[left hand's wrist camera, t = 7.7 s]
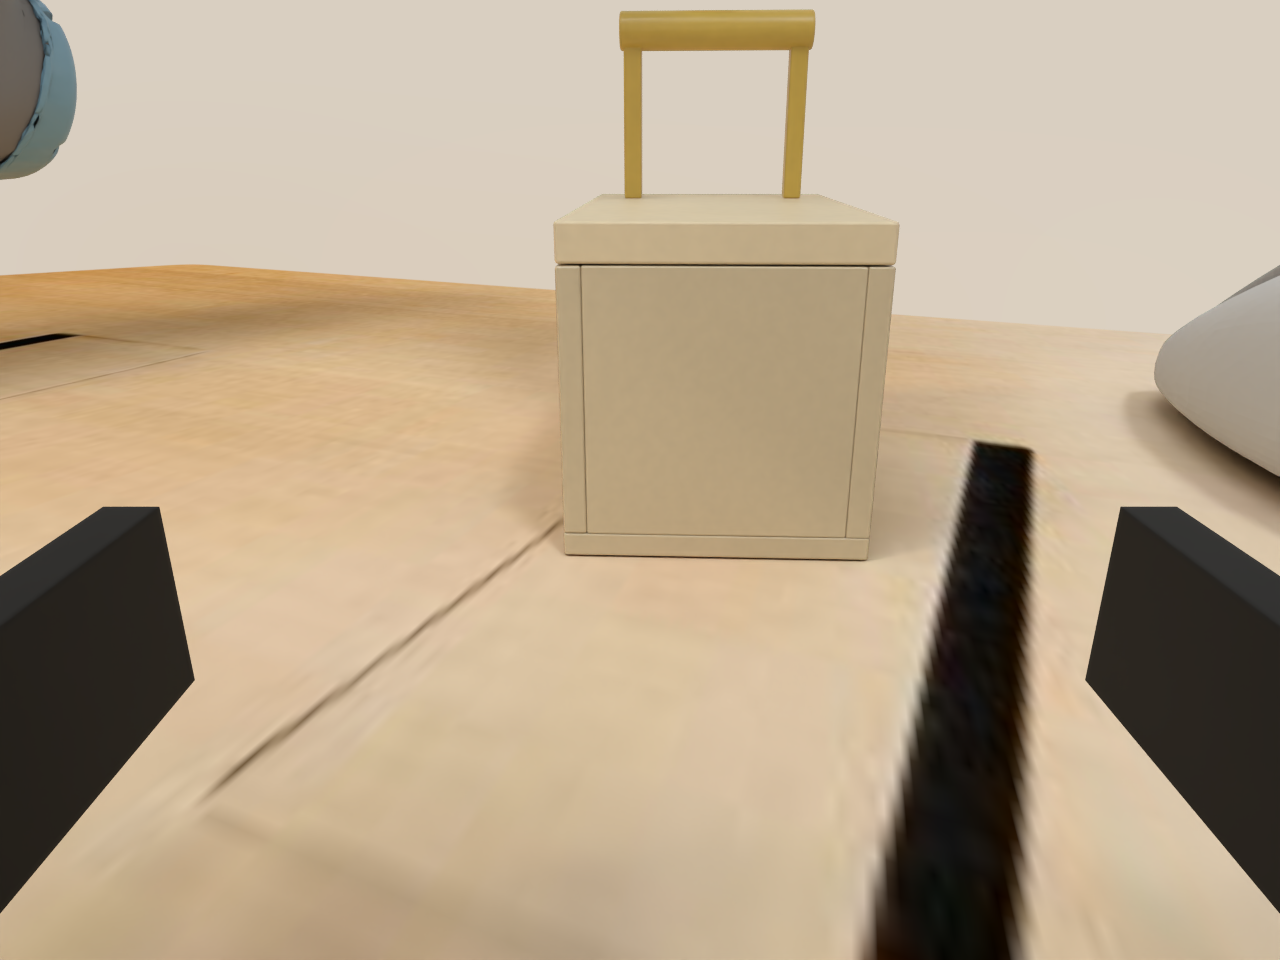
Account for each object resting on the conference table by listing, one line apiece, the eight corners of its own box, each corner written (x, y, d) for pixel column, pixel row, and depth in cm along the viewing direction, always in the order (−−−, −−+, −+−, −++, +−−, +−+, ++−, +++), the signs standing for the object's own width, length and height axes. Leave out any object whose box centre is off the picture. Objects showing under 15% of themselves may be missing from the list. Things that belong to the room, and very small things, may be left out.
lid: (600, 221, 41) (597, 22, 38) (818, 222, 41) (831, 20, 38) (554, 263, 26) (543, -59, 23) (896, 265, 26) (928, -63, 23)
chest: (603, 422, 44) (599, 224, 40) (806, 424, 43) (820, 224, 40) (564, 554, 30) (554, 265, 26) (867, 560, 29) (896, 267, 26)
